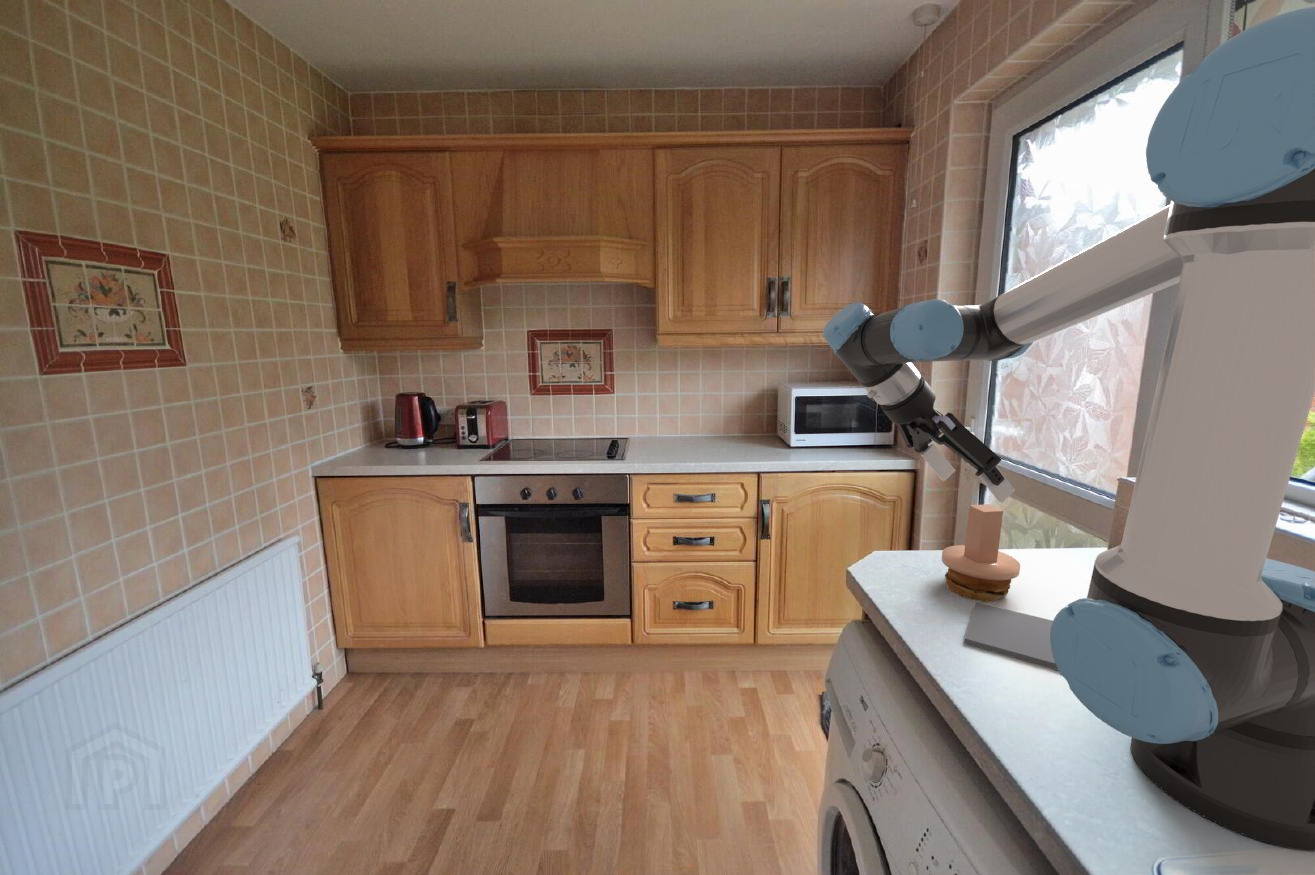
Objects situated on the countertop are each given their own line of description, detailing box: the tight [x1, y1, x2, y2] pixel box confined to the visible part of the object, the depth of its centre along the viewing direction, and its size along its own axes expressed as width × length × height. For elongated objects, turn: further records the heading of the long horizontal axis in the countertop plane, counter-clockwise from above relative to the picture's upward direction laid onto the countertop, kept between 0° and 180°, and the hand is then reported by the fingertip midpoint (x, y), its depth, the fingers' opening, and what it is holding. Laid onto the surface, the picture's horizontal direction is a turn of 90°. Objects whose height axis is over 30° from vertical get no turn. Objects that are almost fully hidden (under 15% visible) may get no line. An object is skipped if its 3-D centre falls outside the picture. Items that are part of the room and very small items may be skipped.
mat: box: [963, 601, 1059, 671], centre depth 82 cm, size 13×14×1 cm
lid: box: [941, 503, 1021, 580], centre depth 96 cm, size 12×12×10 cm
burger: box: [944, 567, 1012, 603], centre depth 97 cm, size 10×9×5 cm
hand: (975, 485), depth 92 cm, fingers open, 13 cm apart
